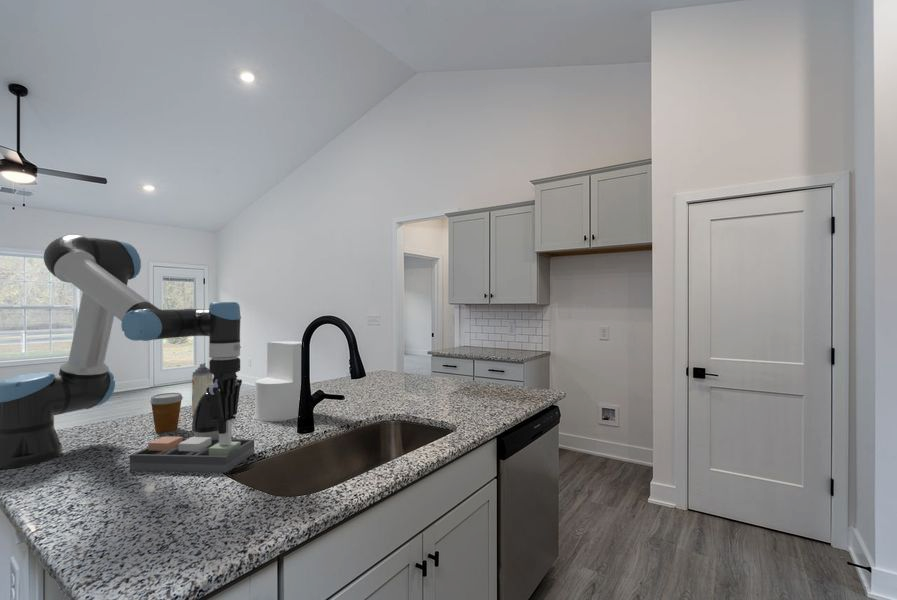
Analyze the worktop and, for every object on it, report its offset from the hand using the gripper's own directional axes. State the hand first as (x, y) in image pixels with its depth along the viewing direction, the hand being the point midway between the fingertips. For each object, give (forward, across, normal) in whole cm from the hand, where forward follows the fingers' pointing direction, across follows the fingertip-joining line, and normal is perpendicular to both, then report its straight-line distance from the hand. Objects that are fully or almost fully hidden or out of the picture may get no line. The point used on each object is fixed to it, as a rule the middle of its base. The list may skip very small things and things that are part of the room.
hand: (225, 444), depth 116 cm
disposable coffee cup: (+5, +27, +38) cm, 47 cm away
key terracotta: (+1, 0, +17) cm, 17 cm away
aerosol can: (+5, +46, +38) cm, 60 cm away
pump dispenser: (+5, +19, +17) cm, 26 cm away
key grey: (+1, 0, +9) cm, 9 cm away
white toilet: (+5, +48, +8) cm, 49 cm away
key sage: (+2, 0, 0) cm, 2 cm away
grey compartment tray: (+5, 0, +9) cm, 10 cm away
